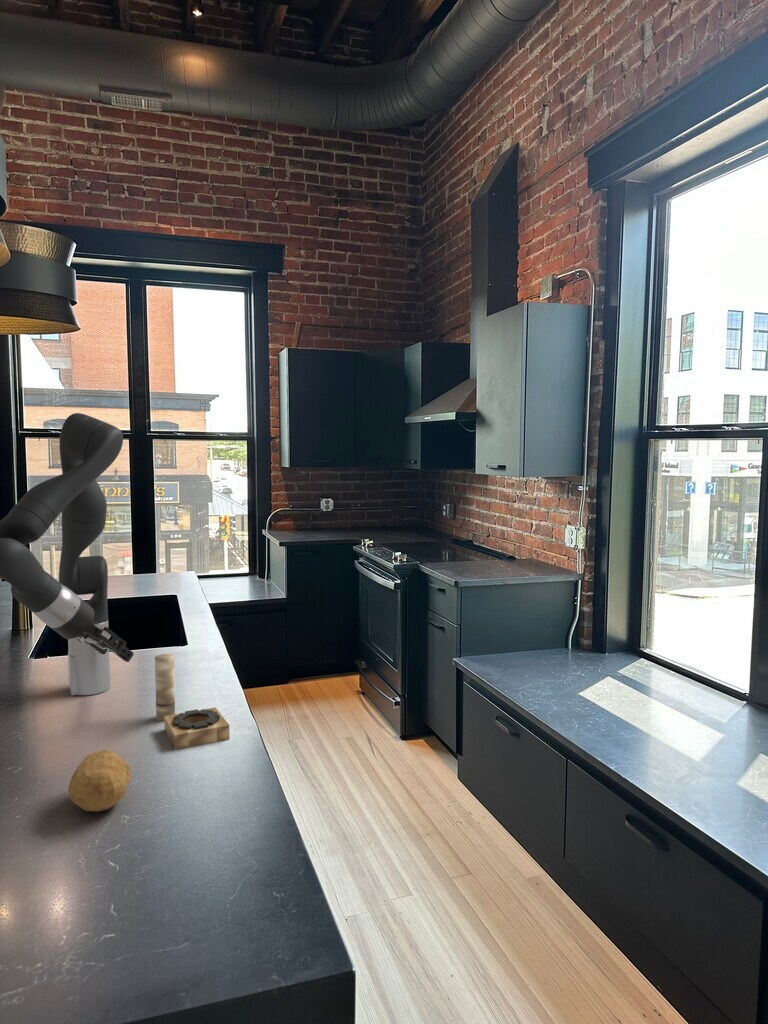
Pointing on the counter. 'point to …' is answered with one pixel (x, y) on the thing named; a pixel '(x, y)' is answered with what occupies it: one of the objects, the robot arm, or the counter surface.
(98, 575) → the robot arm
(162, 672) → the dowel
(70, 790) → the potato
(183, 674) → the counter surface
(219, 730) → the socket
